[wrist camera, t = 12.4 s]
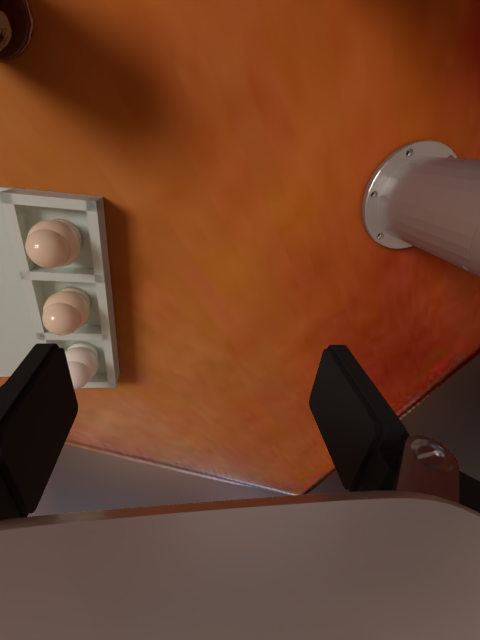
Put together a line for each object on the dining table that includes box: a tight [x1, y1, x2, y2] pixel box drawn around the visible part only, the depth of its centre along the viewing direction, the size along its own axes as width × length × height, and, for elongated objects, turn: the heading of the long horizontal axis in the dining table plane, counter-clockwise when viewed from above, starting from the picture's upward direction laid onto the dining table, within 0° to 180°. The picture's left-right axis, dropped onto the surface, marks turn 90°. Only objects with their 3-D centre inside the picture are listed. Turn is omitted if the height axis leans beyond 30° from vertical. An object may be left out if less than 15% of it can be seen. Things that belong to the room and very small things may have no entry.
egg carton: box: [0, 186, 120, 388], centre depth 36 cm, size 25×17×3 cm
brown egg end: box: [25, 218, 83, 268], centre depth 31 cm, size 5×5×6 cm
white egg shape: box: [65, 341, 99, 390], centre depth 39 cm, size 5×5×6 cm
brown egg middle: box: [42, 286, 92, 335], centre depth 35 cm, size 5×5×6 cm
